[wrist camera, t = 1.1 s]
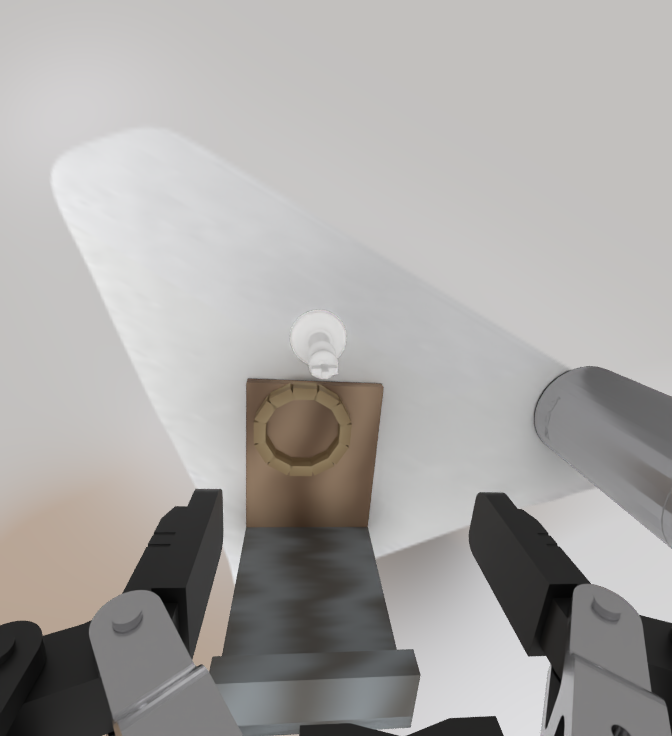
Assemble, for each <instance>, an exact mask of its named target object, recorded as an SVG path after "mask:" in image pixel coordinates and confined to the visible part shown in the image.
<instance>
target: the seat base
mask: <svg viewBox="0 0 672 736" xmlns="http://www.w3.org/2000/svg"><path fill="white" fill-rule="evenodd" d="M383 388H384V387H383V386H382V384H377V383H350V382H323V381H296V380H269V379H248V380H247V383H246V531H245V537H244V542H243V547H242V553H241V558H240V563H239V568H238V574H237V579H236V584H235V590H234V595H233V601H232V606H231V611H230V616H229V622H228V627H227V632H226V637H225V643H224V648H223V653H222V656H221V657H220V656H217V657H212V662H211V666H210V671H209V673H210V675H211V677H212V679H213V680H214V682H215V684H216V686H217V688H218V690H219V692H220V693H221V695H222V697H223V699H224V701H225V703H226V705H227V706H228V708H229V710H230V712H231V714H232V716H233V718H234V720H235V721H236V723H237V725H238V727H239V729H240V731H241V733H242V734H243V736H274V735H291V734H299V731H300V725H318V724H339V723H352V724H355V725H359V726H363V727H367V728H371V729H375V730H377V729H394V728H409V727H411V722H412V717H413V712H414V706H415V701H416V696H417V690H418V685H419V680H420V672H419V668H418V665H417V661H416V657H415V654H414V650H413V649H408V650H397V649H396V645H395V640H394V636H393V632H392V628H391V624H390V619H389V615H388V611H387V607H386V603H385V598H384V594H383V590H382V586H381V581H380V577H379V573H378V569H377V565H376V560H375V556H374V552H373V548H372V543H371V539H370V535H369V531H368V519H369V510H370V502H371V493H372V484H373V475H374V467H375V458H376V449H377V441H378V432H379V423H380V414H381V406H382V397H383Z"/></svg>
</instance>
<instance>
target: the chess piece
mask: <svg viewBox="0 0 672 736" xmlns="http://www.w3.org/2000/svg"><path fill="white" fill-rule="evenodd" d="M346 340H347V334H346V329H345V327H344V325H343V323H342V321H341V320H340V319H339V318H338V317H337V316H336V315H334V314H333V313H331V312H329V311H325V310H311V311H308V312H306V313H304V314H302V315H301V316H300V317H299V318H298V319H297V320H296V321H295V322H294V324H293V326H292V328H291V331H290V344H291V347H292V349H293V351H294V353H295V355H296V356H297V357H298V358H299V359H300V360H301V361H303V362H304V363H306V364H309V370H310V372H311V373H312V376H315V377H317V378H319V379H327V378H330V377H332V376H333V375H335V374H338V360H337V359H338V358H339V357H340V356H341V354H342V353H343V351H344V349H345V346H346Z"/></svg>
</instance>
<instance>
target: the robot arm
mask: <svg viewBox="0 0 672 736" xmlns="http://www.w3.org/2000/svg"><path fill="white" fill-rule="evenodd" d="M535 428H536V431H537V433H538V436H539V437H540V439H541V440H542V442H544V443H545V444H546V445H547V446H548V447H549V448H551V449H552V450H553V451H554V452H555V453H557V454H558V455H559V456H560V457H561V458H563V459H564V460H565V461H566V462H567V463H569V464H570V465H571V466H572V467H573V468H574V469H576V470H577V471H578V472H579V473H580V474H582V475H583V476H584V477H585V478H587V479H588V480H589V481H590V482H591V483H593V484H594V485H595V486H596V487H597V488H599V489H600V490H601V491H602V492H604V493H605V494H606V495H607V496H608V497H610V498H611V499H612V500H613V501H614V502H616V503H617V504H618V505H619V506H621V507H622V508H623V509H624V510H625V511H627V512H628V513H629V514H630V515H631V516H633V517H634V518H635V519H636V520H638V521H639V522H640V523H641V524H642V525H644V526H645V527H646V528H647V529H649V530H650V531H651V532H652V533H653V534H655V535H656V536H657V537H658V538H659V539H661V540H662V541H663V542H664V543H666V544H667V545H668V546H669V547H671V548H672V397H671V396H669V395H666V394H664V393H662V392H659V391H657V390H654V389H652V388H649V387H647V386H645V385H642V384H640V383H638V382H636V381H633V380H631V379H628V378H626V377H623V376H621V375H619V374H616V373H614V372H612V371H609V370H606V369H603V368H600V367H593V366H586V367H580V368H576V369H574V370H571V371H568V372H566V373H565V374H563V375H561V376H559V377H558V378H557V379H556V380H555V381H553V382H552V383H551V384H550V385H549V386H548V388H547V389H546V390H545V391H544V393H543V394H542V396H541V398H540V400H539V402H538V405H537V408H536V412H535ZM222 544H223V497H222V490H221V489H195V491H194V493H193V495H192V497H191V500H190V502H189V504H188V506H187V507H179V506H177V507H174V508H173V509H172V510H171V511H169V512H168V513H167V514H166V515H165V516H164V517H162V519H161V520H160V522H159V525H158V526H157V528H156V530H155V532H154V535H153V536H152V538H151V540H150V541H149V543H148V547H146V549H145V551H144V553H143V555H142V557H141V559H140V561H139V563H138V565H137V566H136V569H135V570H134V572H133V574H132V576H131V578H130V580H129V582H128V584H127V586H126V588H125V589H124V592H123V593H122V594H121V595H119V596H117V597H115V598H113V599H112V600H110V601H109V602H107V603H106V604H105V605H104V606H102V607H101V608H100V610H99V611H98V612H97V613H96V614H95V616H94V618H93V619H92V620H91V621H89V622H87V623H85V624H82V625H79V626H75V627H72V628H68V629H65V630H62V631H58V632H55V633H51V634H48V635H45V636H43V635H42V631H41V629H40V627H39V626H38V625H37V624H35V623H33V622H30V621H15V622H10V623H6V624H3V625H0V736H102V735H105V734H106V736H243V734H242V733H241V731H240V729H239V727H238V725H237V723H236V721H235V720H234V718H233V716H232V714H231V712H230V710H229V708H228V706H227V705H226V703H225V701H224V699H223V697H222V695H221V693H220V692H219V690H218V688H217V686H216V684H215V682H214V680H213V679H212V677H211V675H210V673H209V671H208V670H207V669H206V667H205V666H203V665H199V666H197V667H196V666H195V664H194V663H193V661H192V659H193V655H194V651H195V648H196V644H197V640H198V637H199V633H200V629H201V625H202V622H203V618H204V614H205V611H206V606H207V603H208V599H209V595H210V592H211V588H212V585H213V581H214V577H215V573H216V570H217V566H218V562H219V559H220V555H221V550H222ZM469 544H470V548H471V551H472V554H473V556H474V557H475V559H476V561H477V563H478V565H479V566H480V568H481V570H482V572H483V574H484V576H485V578H486V580H487V581H488V583H489V585H490V587H491V589H492V590H493V592H494V594H495V596H496V598H497V600H498V602H499V603H500V605H501V607H502V609H503V611H504V613H505V615H506V616H507V618H508V620H509V622H510V624H511V626H512V627H513V629H514V631H515V633H516V635H517V637H518V638H519V640H520V642H521V644H522V646H523V648H524V650H525V651H526V653H527V655H528V656H547V658H548V660H549V662H550V663H551V664H550V667H549V670H548V675H547V683H546V692H545V701H544V710H543V718H542V727H541V736H672V623H669V622H665V621H661V620H657V619H653V618H649V617H645V616H641V615H639V614H638V613H637V611H636V610H635V609H634V608H633V607H632V606H631V605H630V604H629V603H628V602H627V601H626V600H625V599H623V598H622V597H621V596H619V595H618V594H616V593H614V592H612V591H610V590H608V589H606V588H604V587H601V586H597V585H593V584H591V583H590V582H589V581H588V580H587V579H586V577H585V576H584V575H583V574H582V572H581V571H580V570H579V569H578V568H577V567H576V565H575V564H574V563H573V562H572V561H571V559H570V558H569V557H568V556H567V555H566V554H565V552H564V551H563V550H562V549H561V548H560V547H558V546H557V543H556V542H555V541H554V539H553V538H552V537H551V536H549V535H548V532H547V531H546V530H545V529H544V528H543V526H542V525H541V524H540V523H539V522H538V521H537V520H536V519H535V518H534V517H532V516H531V515H529V514H528V513H527V512H525V511H524V510H522V509H517V507H516V506H515V505H514V504H513V502H512V501H511V500H510V499H509V497H508V496H507V495H506V494H505V493H490V492H480V493H478V495H477V497H476V500H475V505H474V510H473V515H472V520H471V525H470V530H469ZM299 736H397V735H394V734H390V733H386V732H382V731H378V730H375V729H371V728H367V727H363V726H359V725H355V724H352V723H339V724H318V725H300V731H299ZM407 736H504V735H503V733H502V730H501V728H500V726H499V723H498V721H497V718H496V716H489V717H470V718H469V717H468V718H449V719H447V720H444V721H442V722H439V723H437V724H434V725H432V726H429V727H427V728H425V729H422V730H419V731H417V732H415V733H412V734H410V735H407Z"/></svg>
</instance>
